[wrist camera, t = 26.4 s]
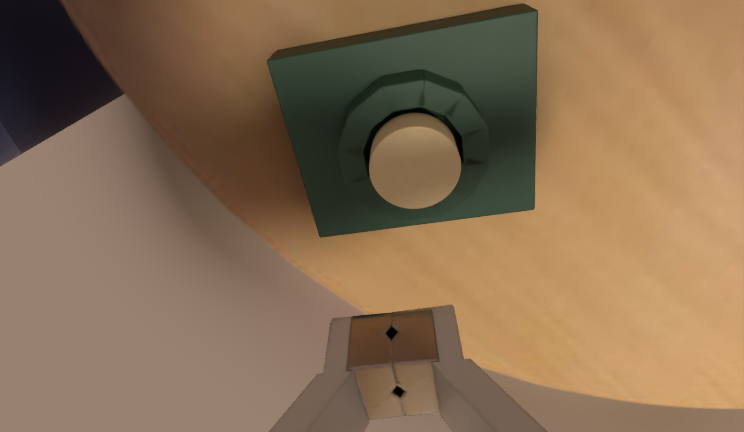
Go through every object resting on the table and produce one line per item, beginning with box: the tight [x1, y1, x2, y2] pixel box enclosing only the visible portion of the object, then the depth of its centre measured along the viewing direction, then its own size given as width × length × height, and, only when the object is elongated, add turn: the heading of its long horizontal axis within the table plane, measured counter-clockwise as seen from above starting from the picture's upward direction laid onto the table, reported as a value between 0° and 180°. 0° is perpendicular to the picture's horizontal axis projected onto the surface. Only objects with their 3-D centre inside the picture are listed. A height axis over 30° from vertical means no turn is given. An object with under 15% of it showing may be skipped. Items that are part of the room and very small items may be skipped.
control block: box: [267, 4, 538, 237], centre depth 22 cm, size 12×10×4 cm
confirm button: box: [369, 113, 461, 209], centre depth 20 cm, size 4×4×2 cm
